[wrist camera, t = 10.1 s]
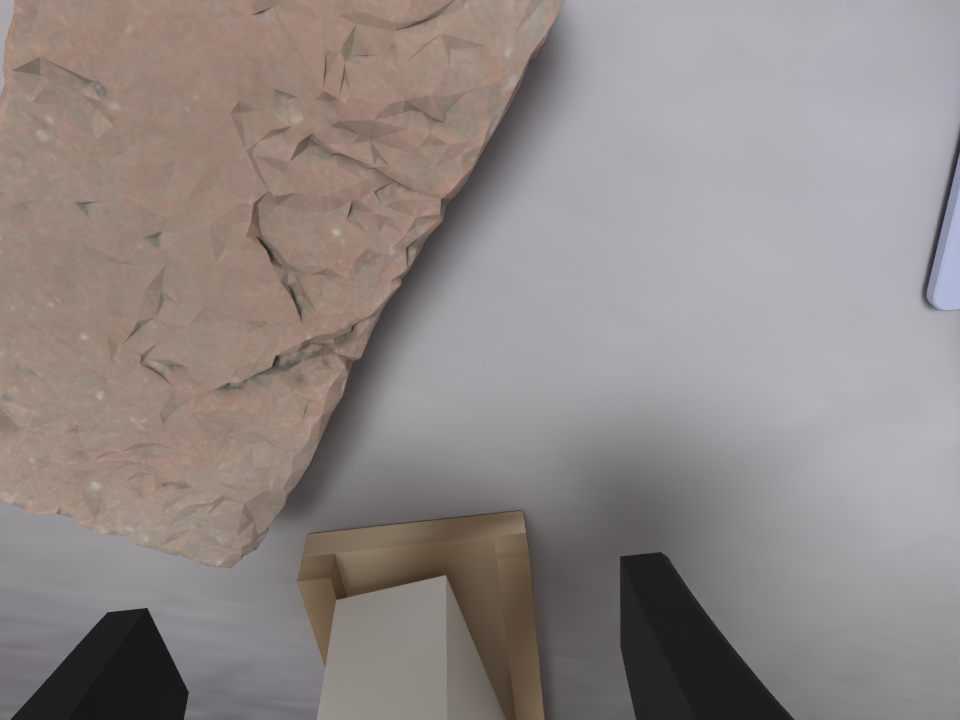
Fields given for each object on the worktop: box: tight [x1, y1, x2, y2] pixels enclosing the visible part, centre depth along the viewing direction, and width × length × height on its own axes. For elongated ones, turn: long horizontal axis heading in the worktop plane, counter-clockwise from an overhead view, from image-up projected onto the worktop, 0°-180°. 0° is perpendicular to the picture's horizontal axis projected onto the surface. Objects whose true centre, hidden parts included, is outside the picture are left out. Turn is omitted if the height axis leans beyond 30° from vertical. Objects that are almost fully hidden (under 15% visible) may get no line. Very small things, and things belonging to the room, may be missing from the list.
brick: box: [0, 0, 564, 568], centre depth 16 cm, size 17×8×5 cm, turn 151°
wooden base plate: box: [297, 511, 544, 720], centre depth 25 cm, size 7×11×2 cm, turn 6°
